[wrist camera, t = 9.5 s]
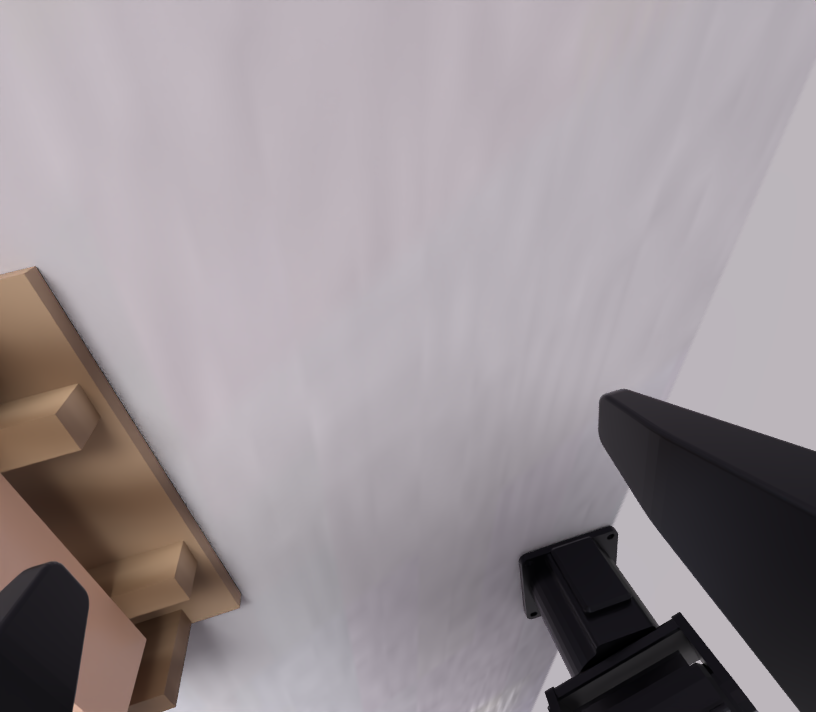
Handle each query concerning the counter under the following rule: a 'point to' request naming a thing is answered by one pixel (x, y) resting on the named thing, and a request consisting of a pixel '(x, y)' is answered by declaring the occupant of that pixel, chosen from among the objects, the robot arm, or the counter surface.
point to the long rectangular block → (106, 625)
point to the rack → (101, 486)
